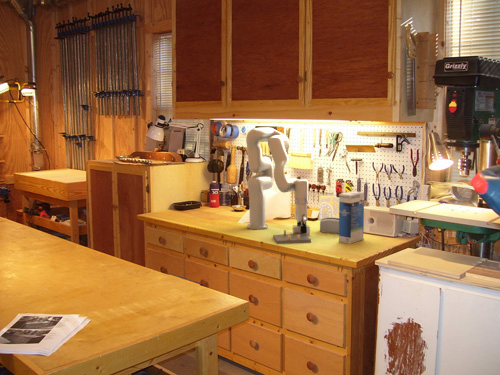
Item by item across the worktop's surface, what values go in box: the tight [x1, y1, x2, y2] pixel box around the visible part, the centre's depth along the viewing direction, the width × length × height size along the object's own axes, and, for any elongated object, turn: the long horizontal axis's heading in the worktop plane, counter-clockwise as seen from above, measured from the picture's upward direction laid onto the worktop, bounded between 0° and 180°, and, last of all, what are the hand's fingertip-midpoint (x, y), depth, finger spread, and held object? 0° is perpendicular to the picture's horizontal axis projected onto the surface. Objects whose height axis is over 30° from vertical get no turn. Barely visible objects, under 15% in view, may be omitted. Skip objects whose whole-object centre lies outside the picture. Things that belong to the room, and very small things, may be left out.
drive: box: [292, 224, 311, 235], centre depth 288 cm, size 9×6×5 cm, turn 90°
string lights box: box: [338, 190, 365, 245], centre depth 271 cm, size 13×8×26 cm, turn 135°
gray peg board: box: [272, 229, 312, 245], centre depth 275 cm, size 14×18×4 cm
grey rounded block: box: [319, 216, 339, 234], centre depth 293 cm, size 17×5×10 cm, turn 64°
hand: (301, 231), depth 288 cm, fingers open, 9 cm apart
